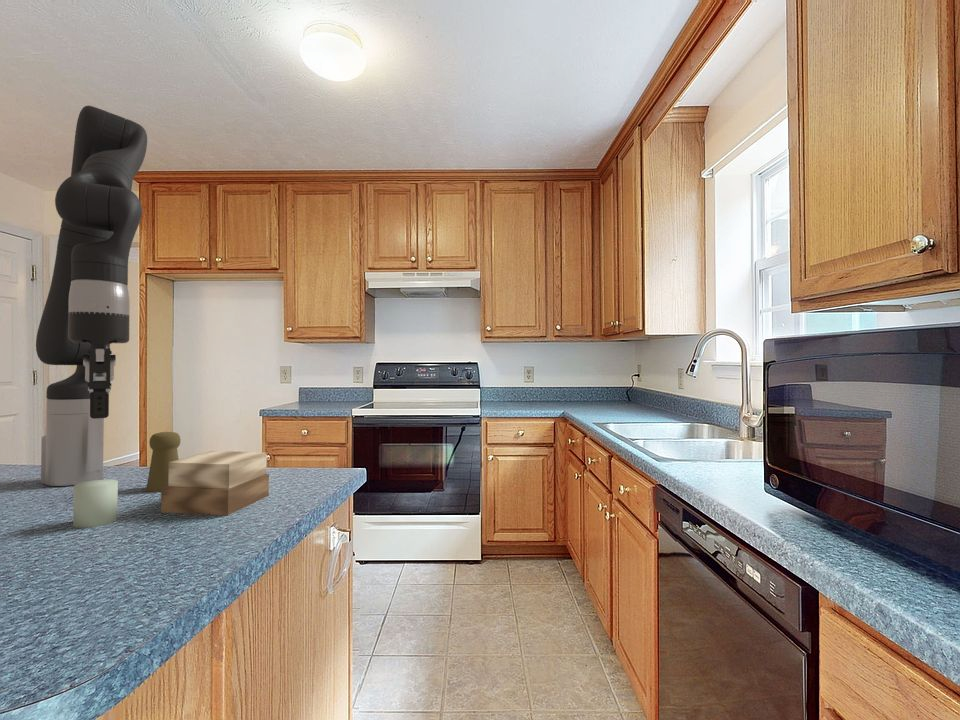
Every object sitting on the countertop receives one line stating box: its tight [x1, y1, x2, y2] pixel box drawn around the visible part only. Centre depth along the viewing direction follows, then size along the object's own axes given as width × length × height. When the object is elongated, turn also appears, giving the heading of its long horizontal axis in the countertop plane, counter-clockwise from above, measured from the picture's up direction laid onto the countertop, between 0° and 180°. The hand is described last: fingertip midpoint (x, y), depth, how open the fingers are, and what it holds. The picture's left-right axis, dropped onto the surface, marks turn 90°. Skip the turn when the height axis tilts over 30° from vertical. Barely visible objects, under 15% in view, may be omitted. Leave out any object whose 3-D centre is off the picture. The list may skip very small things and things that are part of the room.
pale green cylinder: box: [72, 478, 119, 529], centre depth 76 cm, size 5×5×6 cm
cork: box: [145, 431, 181, 493], centre depth 96 cm, size 6×6×11 cm
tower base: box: [160, 473, 270, 516], centre depth 86 cm, size 12×12×4 cm
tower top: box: [168, 450, 268, 489], centre depth 86 cm, size 11×11×4 cm
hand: (99, 415), depth 76 cm, fingers open, 8 cm apart
